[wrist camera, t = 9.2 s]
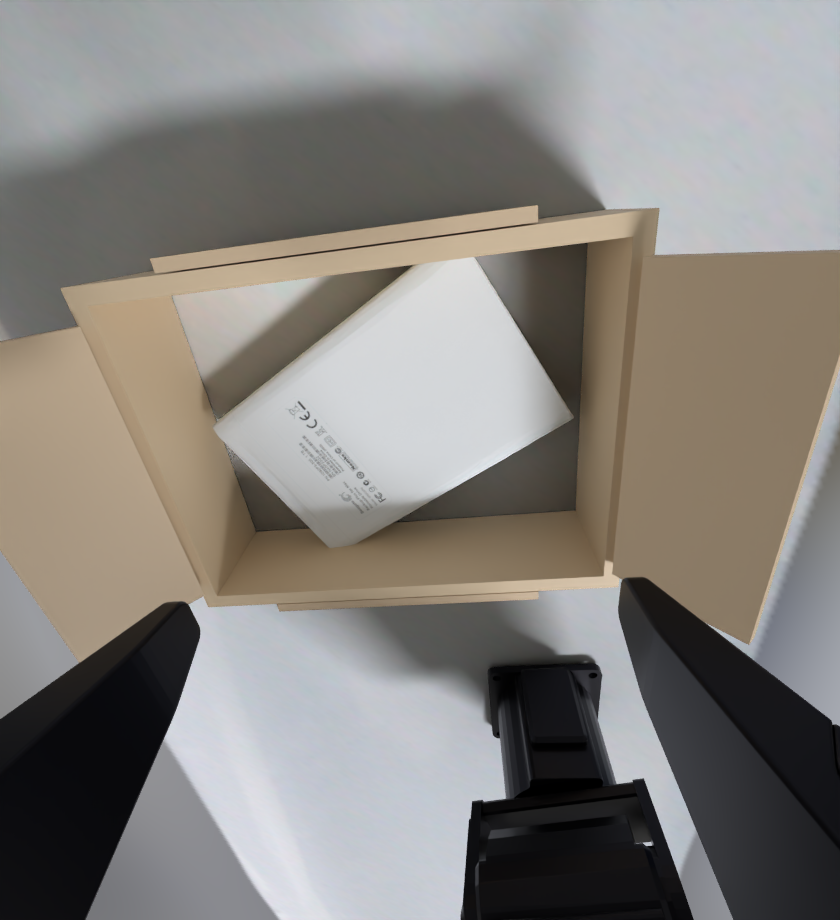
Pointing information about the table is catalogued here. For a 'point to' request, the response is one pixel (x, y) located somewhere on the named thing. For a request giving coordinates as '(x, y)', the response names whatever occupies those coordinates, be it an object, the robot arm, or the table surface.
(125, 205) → the table surface
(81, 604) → the flap
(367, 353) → the external hard drive
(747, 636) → the flap
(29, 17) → the table surface
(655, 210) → the carton
